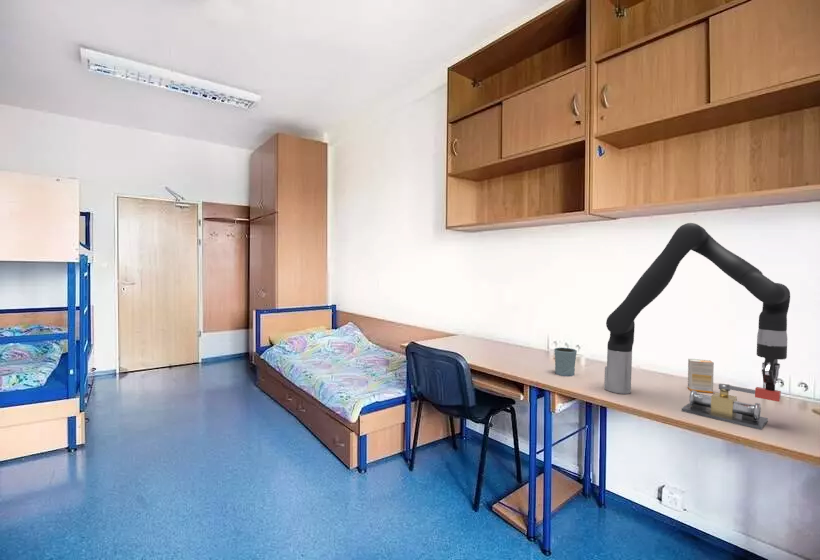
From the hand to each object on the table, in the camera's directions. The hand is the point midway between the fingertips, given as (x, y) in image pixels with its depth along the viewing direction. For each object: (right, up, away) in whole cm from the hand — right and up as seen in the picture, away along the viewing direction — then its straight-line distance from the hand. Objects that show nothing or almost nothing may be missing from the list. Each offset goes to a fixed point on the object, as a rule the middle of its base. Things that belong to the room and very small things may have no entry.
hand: (769, 394), depth 136 cm
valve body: (-10, -9, +7) cm, 15 cm away
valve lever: (-6, -1, +2) cm, 6 cm away
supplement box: (+3, -9, +37) cm, 38 cm away
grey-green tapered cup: (-45, -8, +62) cm, 77 cm away
